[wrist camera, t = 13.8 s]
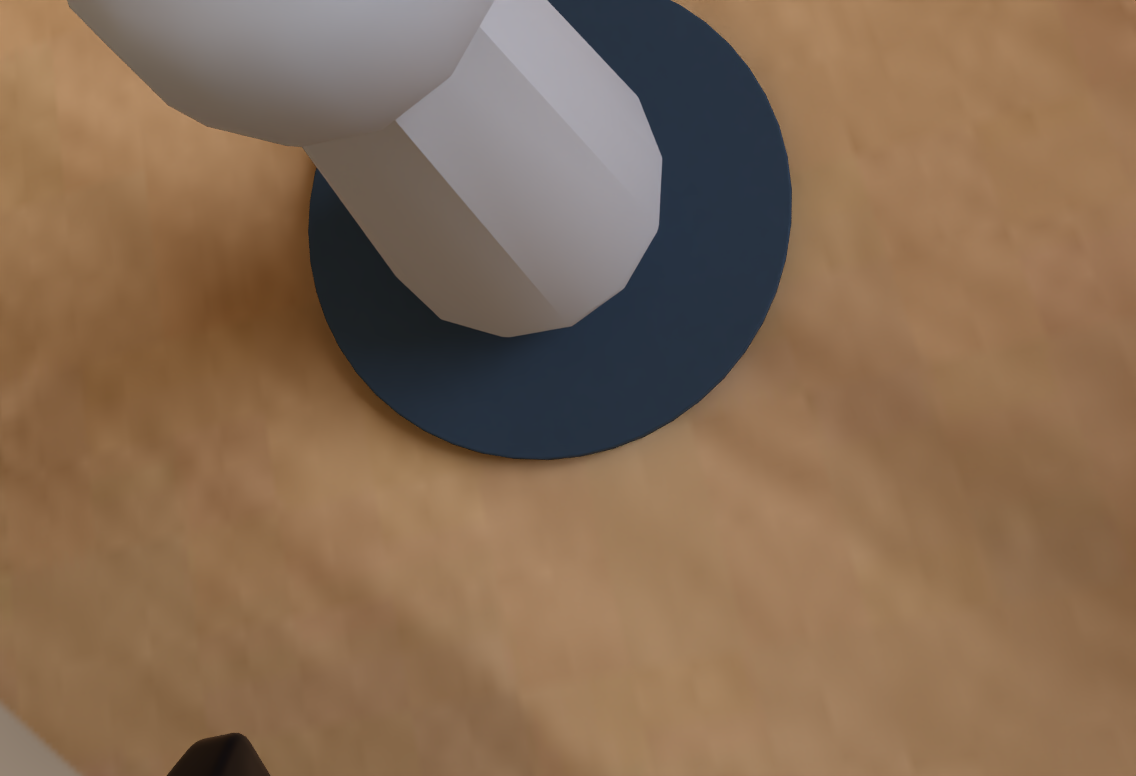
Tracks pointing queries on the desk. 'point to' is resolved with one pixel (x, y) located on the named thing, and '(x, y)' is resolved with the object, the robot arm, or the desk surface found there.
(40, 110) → the desk surface
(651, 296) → the coaster
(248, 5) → the salt shaker
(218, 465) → the desk surface
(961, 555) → the desk surface
